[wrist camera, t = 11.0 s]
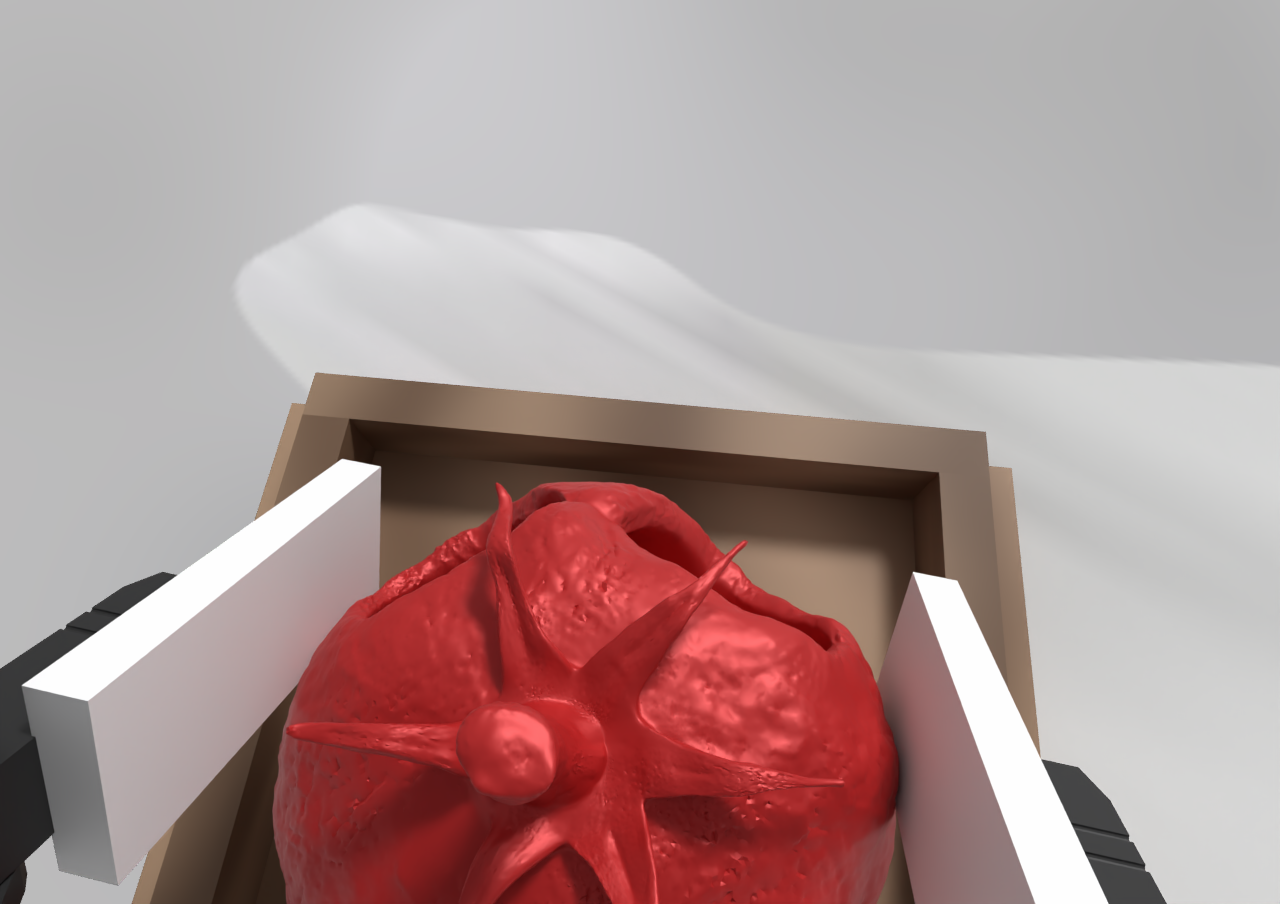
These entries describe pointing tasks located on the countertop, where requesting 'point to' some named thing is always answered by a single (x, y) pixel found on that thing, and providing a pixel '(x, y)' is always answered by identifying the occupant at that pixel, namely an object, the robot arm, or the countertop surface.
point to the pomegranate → (585, 726)
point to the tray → (669, 465)
